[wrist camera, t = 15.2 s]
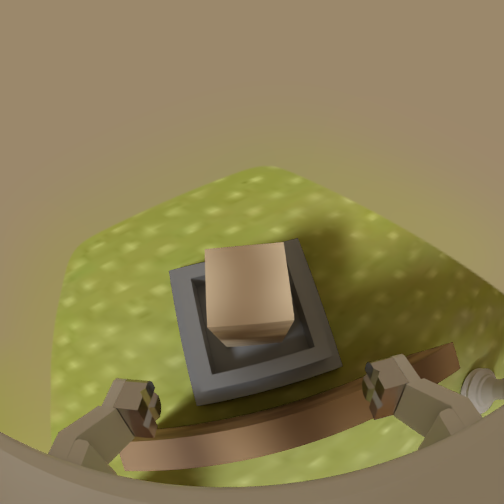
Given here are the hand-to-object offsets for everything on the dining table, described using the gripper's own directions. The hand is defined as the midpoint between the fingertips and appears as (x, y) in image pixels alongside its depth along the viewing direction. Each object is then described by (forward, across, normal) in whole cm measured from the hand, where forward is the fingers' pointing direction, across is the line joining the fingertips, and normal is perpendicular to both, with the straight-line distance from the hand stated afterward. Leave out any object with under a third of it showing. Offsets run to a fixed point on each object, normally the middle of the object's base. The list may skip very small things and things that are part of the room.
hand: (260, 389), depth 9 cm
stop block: (+11, 0, +4) cm, 11 cm away
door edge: (+6, -2, +10) cm, 12 cm away
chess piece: (+4, -20, +12) cm, 24 cm away
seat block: (+11, 0, +4) cm, 12 cm away
